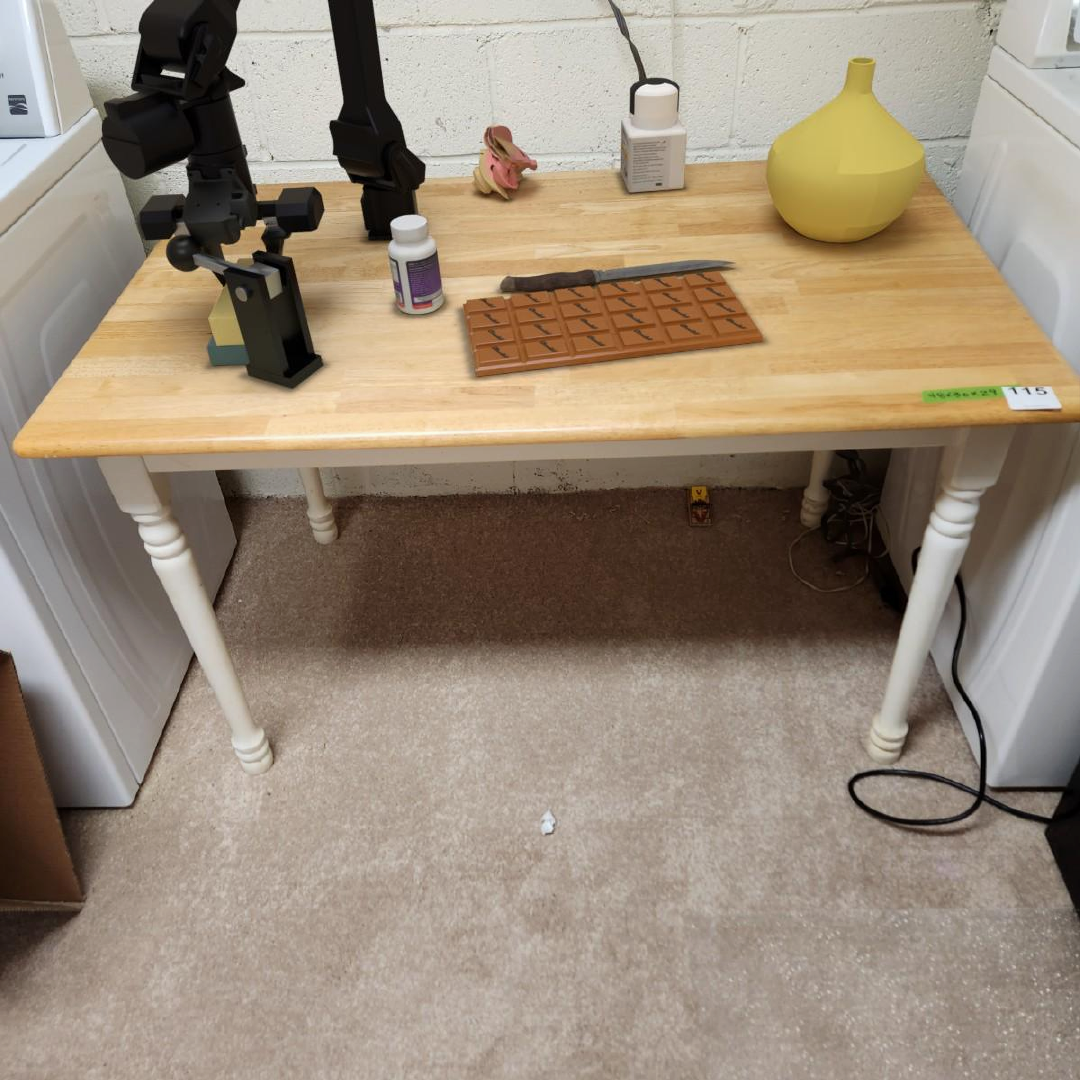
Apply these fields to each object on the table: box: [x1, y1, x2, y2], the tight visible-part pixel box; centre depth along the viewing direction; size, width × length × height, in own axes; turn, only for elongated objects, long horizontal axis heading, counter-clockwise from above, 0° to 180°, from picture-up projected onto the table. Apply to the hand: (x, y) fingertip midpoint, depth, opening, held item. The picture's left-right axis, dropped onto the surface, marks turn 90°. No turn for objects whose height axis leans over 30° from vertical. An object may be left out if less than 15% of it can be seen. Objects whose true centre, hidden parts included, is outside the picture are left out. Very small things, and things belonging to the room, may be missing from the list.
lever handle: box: [165, 235, 282, 299], centre depth 91 cm, size 13×4×4 cm, turn 61°
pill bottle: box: [387, 214, 445, 315], centre depth 102 cm, size 5×5×10 cm
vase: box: [765, 56, 927, 243], centre depth 109 cm, size 18×18×19 cm
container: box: [620, 77, 688, 194], centre depth 125 cm, size 8×8×13 cm
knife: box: [499, 259, 736, 292], centre depth 108 cm, size 28×3×1 cm, turn 99°
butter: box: [207, 257, 254, 346], centre depth 100 cm, size 14×3×3 cm, turn 1°
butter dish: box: [206, 334, 250, 367], centre depth 102 cm, size 5×14×2 cm, turn 1°
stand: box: [223, 249, 324, 389], centre depth 92 cm, size 6×6×12 cm
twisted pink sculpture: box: [471, 124, 539, 200], centre depth 128 cm, size 9×10×10 cm
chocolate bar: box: [462, 270, 763, 377], centre depth 100 cm, size 14×30×1 cm, turn 99°
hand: (252, 287), depth 104 cm, fingers open, 5 cm apart
